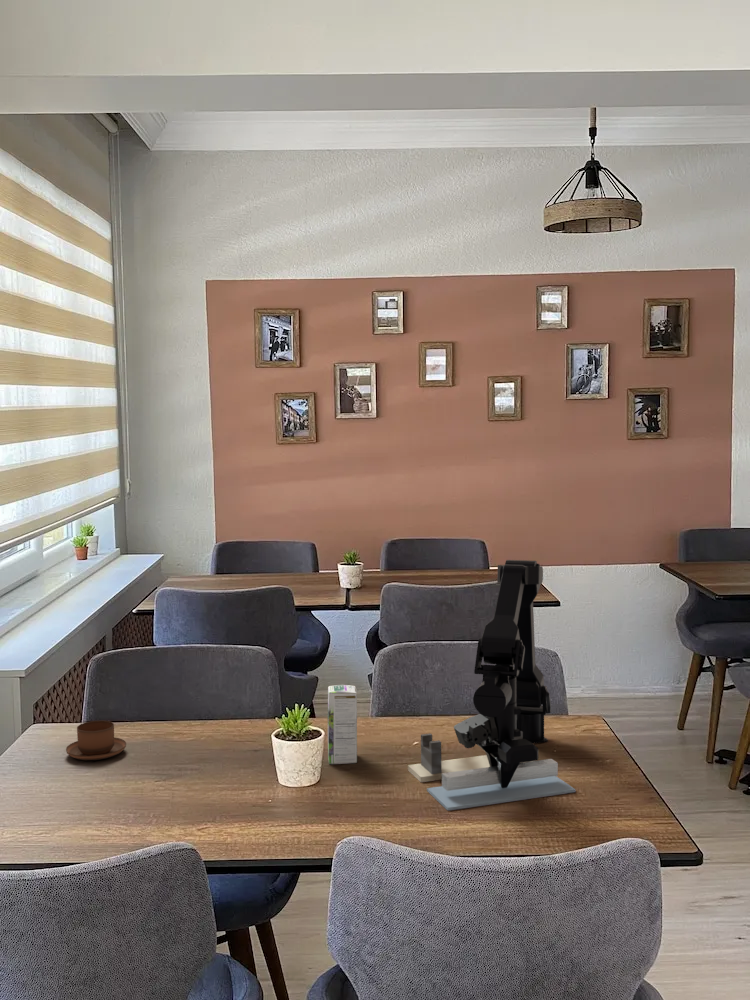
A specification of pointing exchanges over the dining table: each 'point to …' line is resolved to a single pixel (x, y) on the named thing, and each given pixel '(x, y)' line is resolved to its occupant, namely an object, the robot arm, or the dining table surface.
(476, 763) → the rail stand
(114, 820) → the dining table surface
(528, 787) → the mat
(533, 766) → the rail
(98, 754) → the cup and saucer
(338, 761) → the syrup box
